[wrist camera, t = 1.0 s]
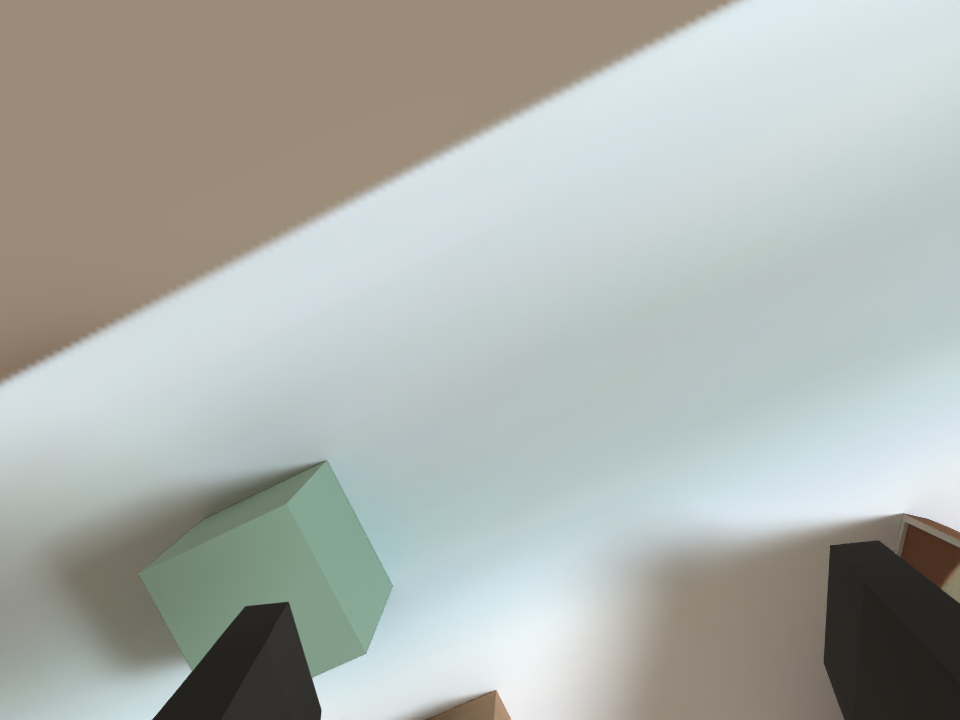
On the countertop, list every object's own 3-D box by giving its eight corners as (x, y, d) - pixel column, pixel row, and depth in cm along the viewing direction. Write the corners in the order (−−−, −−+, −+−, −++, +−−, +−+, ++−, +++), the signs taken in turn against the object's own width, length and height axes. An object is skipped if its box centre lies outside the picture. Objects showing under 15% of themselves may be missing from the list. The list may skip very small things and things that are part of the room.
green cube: (269, 641, 30) (218, 719, 25) (203, 518, 30) (137, 574, 25) (393, 584, 29) (366, 653, 24) (327, 459, 29) (286, 503, 24)
